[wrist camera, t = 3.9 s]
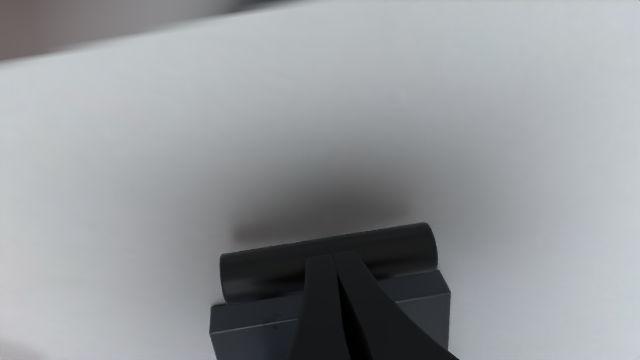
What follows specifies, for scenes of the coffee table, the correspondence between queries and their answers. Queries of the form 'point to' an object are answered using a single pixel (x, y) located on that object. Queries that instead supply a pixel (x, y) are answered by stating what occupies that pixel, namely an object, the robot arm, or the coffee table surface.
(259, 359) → the bracket
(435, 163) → the coffee table surface
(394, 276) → the lever
